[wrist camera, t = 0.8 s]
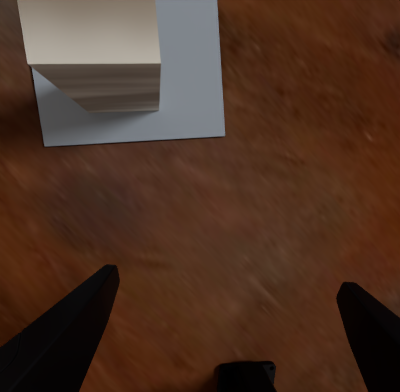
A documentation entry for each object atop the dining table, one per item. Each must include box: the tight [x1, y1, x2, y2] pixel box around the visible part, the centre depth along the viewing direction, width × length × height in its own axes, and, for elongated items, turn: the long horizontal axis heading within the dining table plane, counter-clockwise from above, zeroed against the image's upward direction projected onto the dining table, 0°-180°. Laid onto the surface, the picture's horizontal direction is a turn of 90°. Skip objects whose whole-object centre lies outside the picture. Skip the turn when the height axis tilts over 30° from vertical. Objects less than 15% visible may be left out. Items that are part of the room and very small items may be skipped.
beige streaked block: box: [17, 0, 161, 113], centre depth 16 cm, size 3×6×10 cm, turn 94°
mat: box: [32, 0, 225, 147], centre depth 20 cm, size 20×16×1 cm
